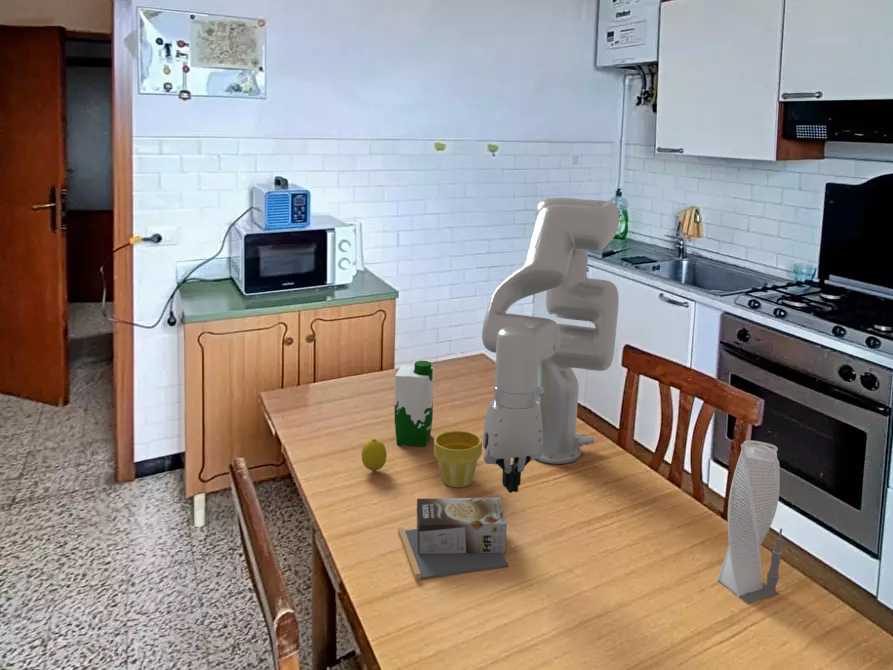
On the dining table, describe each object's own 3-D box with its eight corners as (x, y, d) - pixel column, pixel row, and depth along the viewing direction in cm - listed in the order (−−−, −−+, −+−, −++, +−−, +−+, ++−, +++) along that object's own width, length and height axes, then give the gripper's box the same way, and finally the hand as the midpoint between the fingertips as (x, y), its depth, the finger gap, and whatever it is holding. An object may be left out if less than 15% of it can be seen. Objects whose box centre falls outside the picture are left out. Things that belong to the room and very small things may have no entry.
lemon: (382, 478, 161) (382, 445, 158) (358, 475, 162) (357, 442, 159) (389, 467, 166) (389, 434, 163) (366, 464, 167) (365, 432, 164)
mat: (483, 522, 144) (483, 516, 144) (508, 566, 131) (508, 560, 130) (398, 533, 140) (398, 527, 140) (415, 580, 126) (415, 574, 126)
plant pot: (438, 467, 166) (439, 427, 163) (483, 471, 164) (485, 432, 162) (429, 489, 156) (429, 447, 154) (476, 494, 155) (478, 452, 152)
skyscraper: (740, 607, 121) (765, 454, 113) (705, 579, 128) (726, 434, 120) (778, 595, 125) (804, 445, 116) (742, 569, 132) (765, 426, 123)
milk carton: (428, 449, 175) (429, 370, 169) (391, 446, 176) (391, 367, 170) (434, 433, 183) (435, 358, 177) (399, 430, 184) (399, 355, 178)
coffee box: (507, 523, 132) (418, 525, 131) (505, 553, 134) (417, 556, 133) (500, 496, 140) (416, 497, 139) (498, 524, 143) (416, 526, 141)
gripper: (546, 385, 135) (541, 475, 140) (468, 391, 131) (466, 483, 136) (563, 400, 128) (556, 494, 133) (481, 407, 124) (478, 504, 129)
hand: (510, 488), depth 135 cm, fingers closed
